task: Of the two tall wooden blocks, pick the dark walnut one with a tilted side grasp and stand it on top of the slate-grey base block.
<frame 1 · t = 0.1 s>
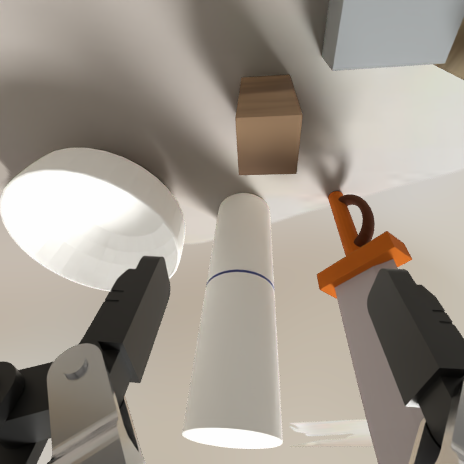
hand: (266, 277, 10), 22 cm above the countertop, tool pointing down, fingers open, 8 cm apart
cylindrical container: (244, 213, 37), on the countertop
walnut block: (265, 101, 27), on the countertop
knife: (334, 195, 34), on the countertop
bowl: (121, 198, 37), on the countertop
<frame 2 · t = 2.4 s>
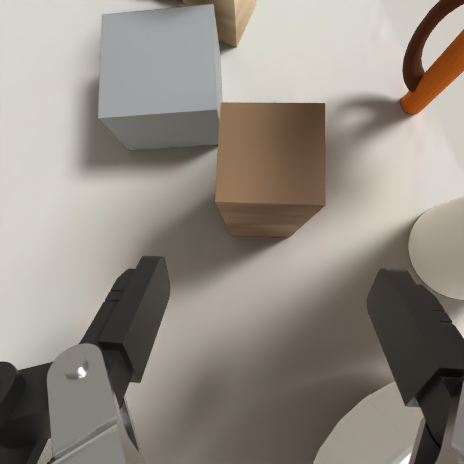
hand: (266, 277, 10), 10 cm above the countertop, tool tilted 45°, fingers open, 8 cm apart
base block: (176, 105, 23), on the countertop
cylindrical container: (456, 250, 20), on the countertop
oak block: (223, 18, 24), on the countertop
walnut block: (260, 208, 21), on the countertop
knife: (411, 106, 22), on the countertop
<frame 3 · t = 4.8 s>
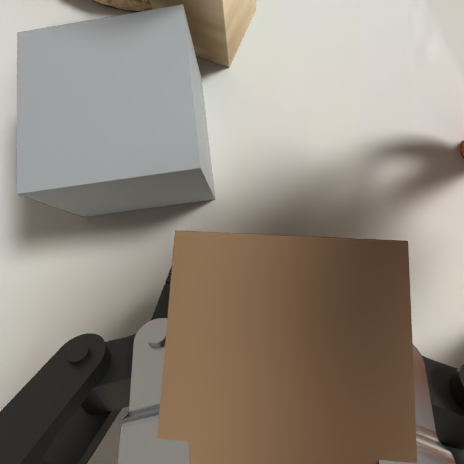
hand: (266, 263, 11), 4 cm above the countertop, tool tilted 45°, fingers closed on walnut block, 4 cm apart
base block: (145, 147, 17), on the countertop
oak block: (211, 28, 18), on the countertop
walnut block: (260, 301, 15), on the countertop, touching gripper
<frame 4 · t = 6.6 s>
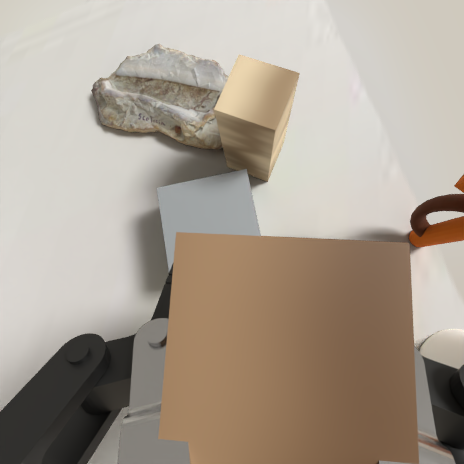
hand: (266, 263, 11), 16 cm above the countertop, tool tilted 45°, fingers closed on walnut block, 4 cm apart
base block: (216, 232, 28), on the countertop
fossil: (177, 112, 30), on the countertop
cylindrical container: (457, 370, 24), on the countertop
oak block: (255, 155, 28), on the countertop
walnut block: (261, 301, 15), point 11 cm above the countertop, touching gripper
knife: (417, 238, 26), on the countertop
when the fingers open (11 cm above the countertop, at t = 8.4 s): walnut block drops 2 cm, point 5 cm above the countertop.
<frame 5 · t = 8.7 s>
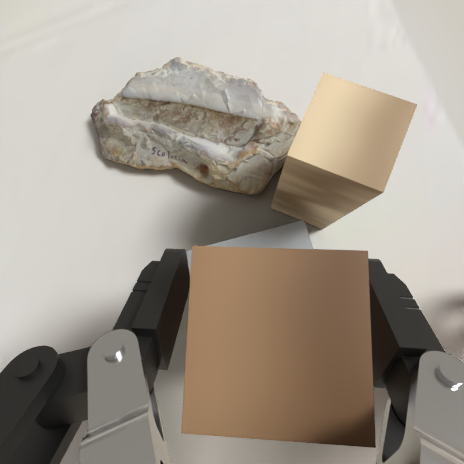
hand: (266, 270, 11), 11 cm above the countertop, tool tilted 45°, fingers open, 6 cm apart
base block: (257, 292, 21), on the countertop
fossil: (200, 143, 24), on the countertop
oak block: (306, 193, 22), on the countertop
walnut block: (259, 299, 16), point 5 cm above the countertop
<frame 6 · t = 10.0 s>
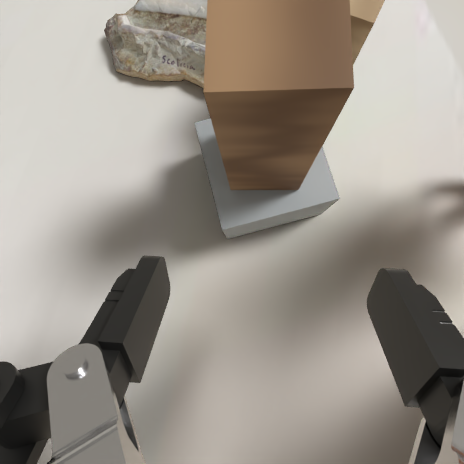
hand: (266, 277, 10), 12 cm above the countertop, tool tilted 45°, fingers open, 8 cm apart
base block: (260, 183, 23), on the countertop
fossil: (206, 59, 26), on the countertop
oak block: (307, 96, 24), on the countertop
walnut block: (264, 158, 18), point 5 cm above the countertop
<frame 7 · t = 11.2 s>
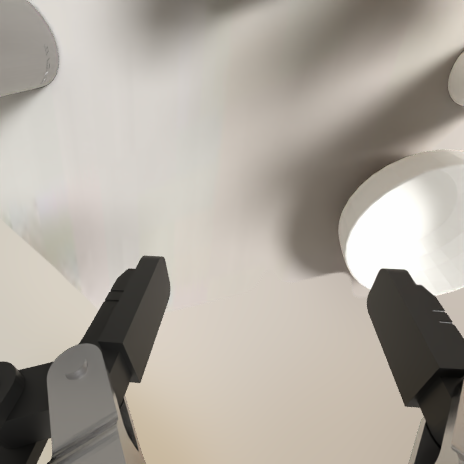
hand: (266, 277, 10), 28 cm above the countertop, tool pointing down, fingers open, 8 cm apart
bowl: (401, 205, 39), on the countertop
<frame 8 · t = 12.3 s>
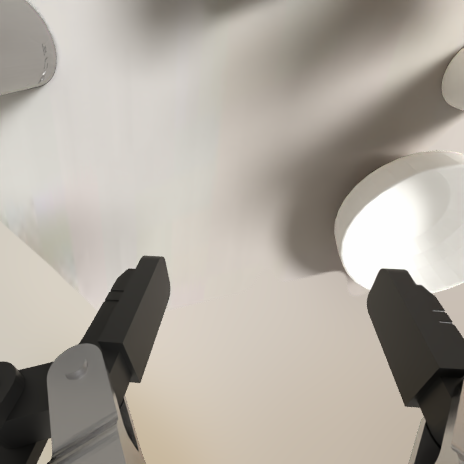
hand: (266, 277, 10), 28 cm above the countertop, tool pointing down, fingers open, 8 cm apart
bowl: (396, 205, 39), on the countertop
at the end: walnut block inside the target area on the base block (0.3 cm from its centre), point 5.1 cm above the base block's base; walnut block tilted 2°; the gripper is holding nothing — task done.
